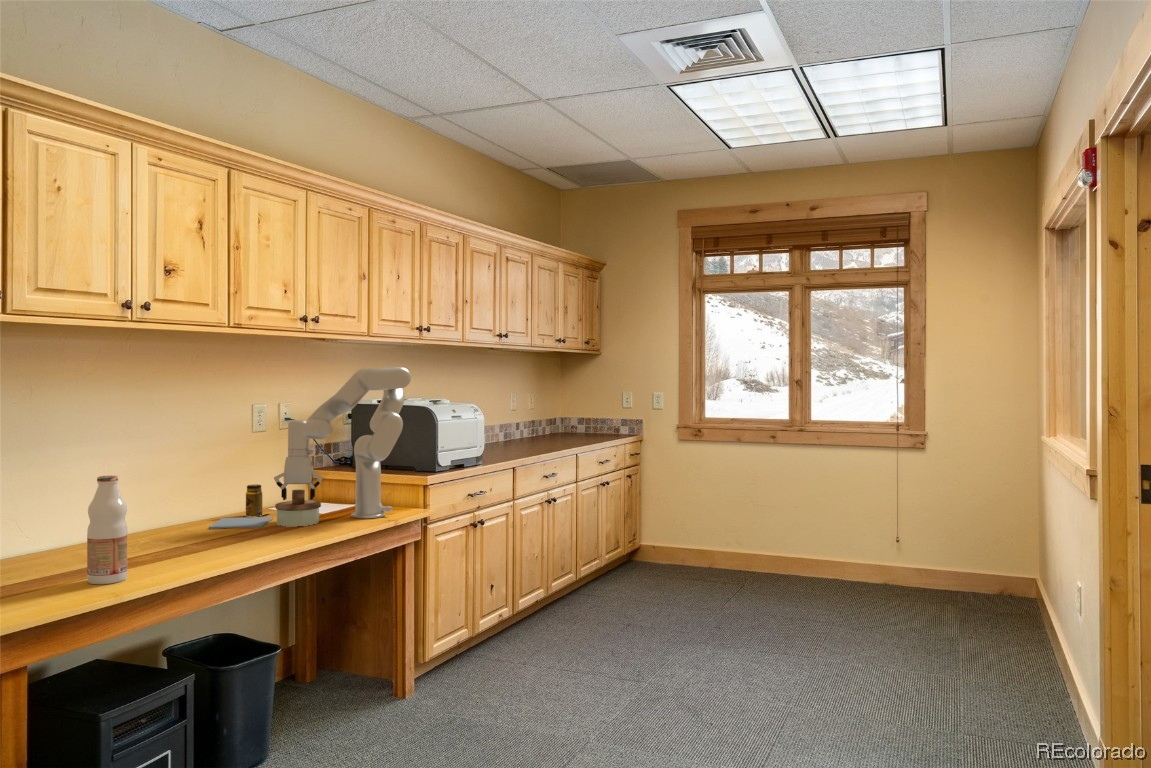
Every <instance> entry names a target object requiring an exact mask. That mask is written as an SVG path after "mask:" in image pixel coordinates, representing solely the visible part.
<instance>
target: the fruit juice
mask: <svg viewBox="0 0 1151 768" xmlns="http://www.w3.org/2000/svg"><path fill="white" fill-rule="evenodd" d="M96 481H97V482H96V483H97V485H98V486H97V489H96V491H95V494H94V496H93V498H92V500H91V502H90V503H89V505H88V509H87V515H88V519H89V524H88V526H87V533H86V538H87V539H86V540H87V542H86V544H87V545H86V553H87V554H86V555H87V557H86V567H87V568H86V579H87V583H89V584H90V585H111V584H116V583H121V582H123V581H125V580H127V578H128V524H127V522H126V515H127V512H128V509H127V508H128V507H127V503H126V502H125V500H124V499H123V496H122V494H121V492H120V489H119V487H118V483H119V477H118V475H102V476H101V475H100V476H98V477H97V478H96Z"/></svg>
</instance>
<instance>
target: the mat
mask: <svg viewBox="0 0 1151 768" xmlns="http://www.w3.org/2000/svg"><path fill="white" fill-rule="evenodd" d="M270 520H271V521H272V520H273V516H269V517H267V516H261V517H222V518H220V519H218V520H217V521H216V522H214V523H212V524H211V525H209V526H208V530H223V529H222V528H248V529H263V528H264V527H265V526H266V525H267V524H269V523H270V522H271V521H270ZM269 521H270V522H269ZM268 522H269V523H268ZM264 525H265V526H264ZM263 526H264V527H263ZM262 527H263V528H262ZM219 528H221V529H219Z"/></svg>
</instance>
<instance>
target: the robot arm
mask: <svg viewBox="0 0 1151 768" xmlns="http://www.w3.org/2000/svg"><path fill="white" fill-rule="evenodd" d="M411 380H412V375H411V372H410V370H408V368H406V367H403V366H387V367H386V366H385V367H382V368H381V367H380V368H379V367H373V368H372V367H365V368H364V367H362V368H360V369H358V370H356V371H355V372H354V373H353V375H352V376H351V377H349V379H348V380H347V381H346V382H345V383H344V384H343V385H342V386H341V387H340V389H338V391H337V392H336V393H335V394H334V395H332V396H330V398H329V399H327V400H326V401H325V402H323V403H322V404H321V405H320V406H319V407H317V409H316V410H314V412H313V413H311V415H310V416H309V417H308V418H307V419H292V420H289V421H288V424H287V456H286V457H285V461H284V466H283V467H284V468H283V472H281V473H279V474H278V475H275V476H274V477H273V479H274V482H275V483H276V485H277V486H278V487H279V488H280V490H281V496H280V497H281V498H282V501H285V500H287V496H288V495H287V493H288V492H287V491H288V488H286V487H287V486H288V485H308V486H309V487H310V489H309V501H314V498H315V497H316V488H317V487H318V486H319V485H320V484H321V482H322V480H323V476H322V475H320V474H318V473H316V472H314V463H313V458H312V456H310V455H313V454H314V450H313V449H310V439H312V440H326V439H328V438H329V437H330V436H331V435H332V434H333V426H332V425H333V424H331V422H333V420H335V419H336V418H337V417H339V416H341V415H343V414H345V413H347V412H349V411H351V410H353V409H354V408H355V407H356V406H357V405H358V404H359V403H360V401H361V400H362V399H363V398H364V397H365V396H366V394H367V393H368V392H370V391H383V395H382V399H381V400H380V403H379V404H378V406H377V408H376V410H375V411H374V413H373V414H372V417H371V418H370V421H369V427H370V430H371V431H372V432H373V433H372V434H365V435H362V436H360V437H358V439H357V440H356V441H355V443H354V447H353V453H354V460H355V511H353V512H351V517H352V518H355V519H376V518H383V517H384V516H385V514H386V513H385V512H393V506H390V505H387V506H385V505H383V502H381V501H382V500H381V497H382V496H381V495H382V494H381V493H382V486H381V485H382V480H381V479H382V469H381V468H382V467H381V465H382V464H381V462H383V461H385V460H386V458H388V457H389V456H390V454H391V452H392V450H393V448H394V447H395V445H396V443H397V441H398V439H399V438H400V435H401V434H402V432H403V426H404V421H403V418H402V417H401V415H400V413H401V410H402V408H403V406H404V403H405V398H406V396H405V394H406V393H405V388H406V387H407V386H408V385H409V384H410V383H411ZM280 478H283V483H282V482H281V480H280ZM314 478H316V479H317V481H316V482H315V483H314Z"/></svg>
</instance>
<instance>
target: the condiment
mask: <svg viewBox="0 0 1151 768" xmlns="http://www.w3.org/2000/svg"><path fill="white" fill-rule="evenodd" d="M262 514H263V491H262V485H261V484H248V485H246V492H245V515H246V516H260V515H262Z"/></svg>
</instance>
